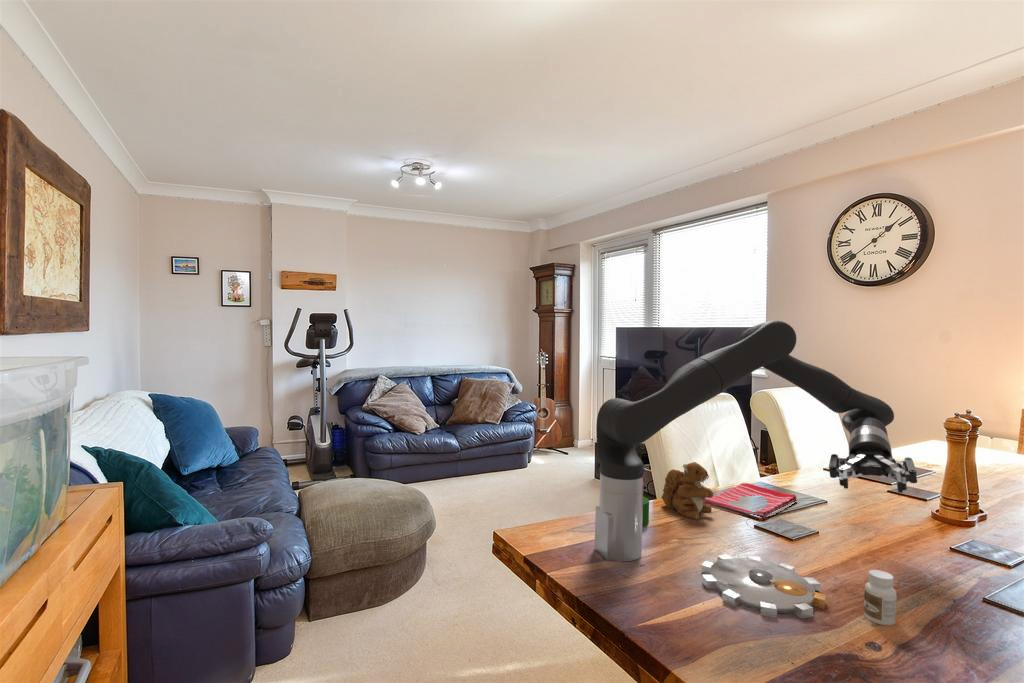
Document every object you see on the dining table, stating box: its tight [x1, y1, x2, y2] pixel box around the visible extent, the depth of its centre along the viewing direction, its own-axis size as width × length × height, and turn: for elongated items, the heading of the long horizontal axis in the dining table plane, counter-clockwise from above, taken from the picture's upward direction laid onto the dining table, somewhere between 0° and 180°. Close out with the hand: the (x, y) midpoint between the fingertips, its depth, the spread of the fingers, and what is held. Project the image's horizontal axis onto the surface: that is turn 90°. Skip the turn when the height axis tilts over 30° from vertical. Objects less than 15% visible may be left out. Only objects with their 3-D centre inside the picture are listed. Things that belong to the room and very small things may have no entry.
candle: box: [642, 496, 650, 527], centre depth 130 cm, size 8×8×10 cm
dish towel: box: [703, 482, 798, 521], centre depth 145 cm, size 17×24×3 cm
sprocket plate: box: [700, 554, 827, 619], centre depth 97 cm, size 21×21×2 cm
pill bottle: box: [863, 569, 897, 626], centre depth 87 cm, size 4×4×8 cm
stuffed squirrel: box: [660, 461, 714, 520], centre depth 139 cm, size 10×14×13 cm
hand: (872, 486), depth 98 cm, fingers open, 8 cm apart
